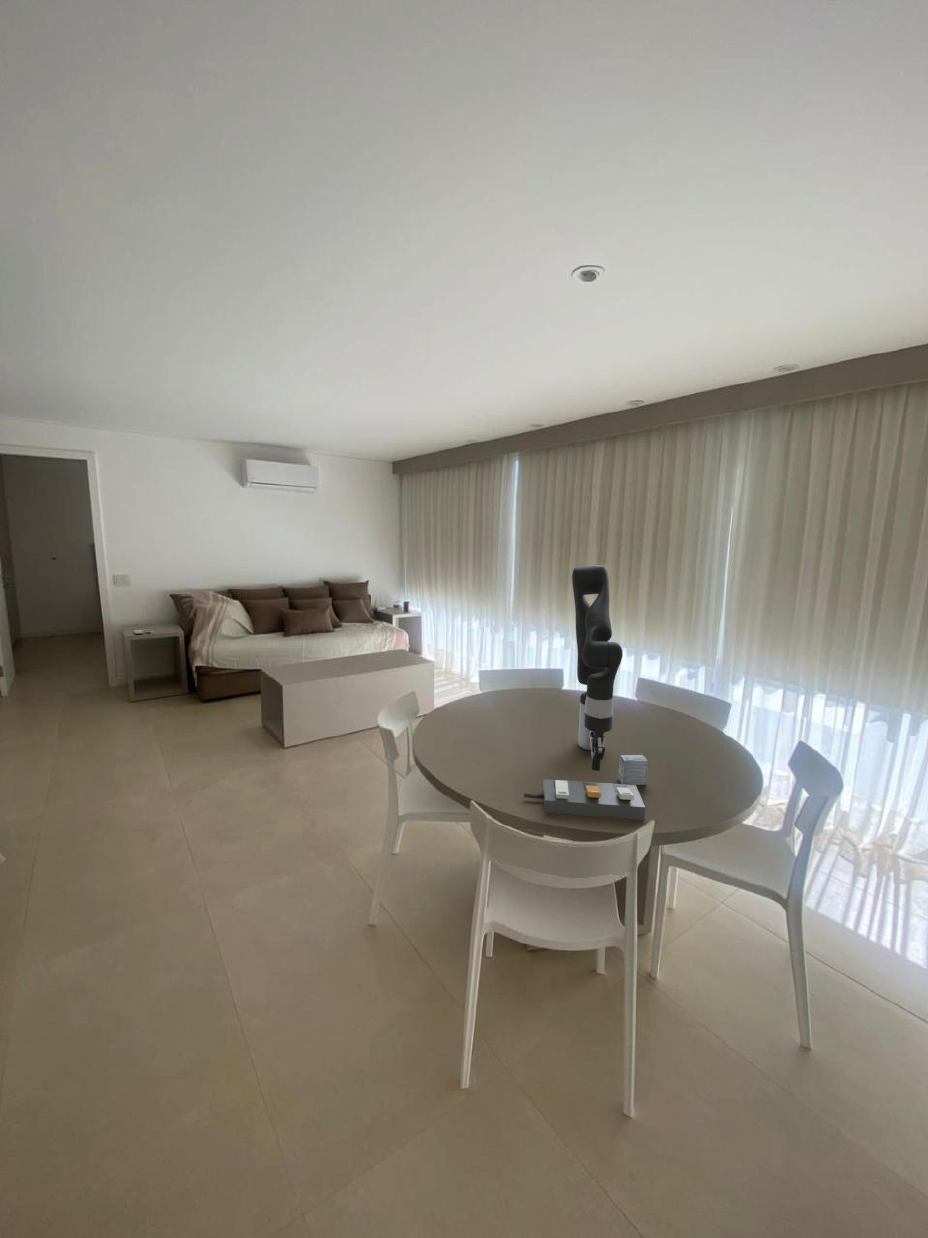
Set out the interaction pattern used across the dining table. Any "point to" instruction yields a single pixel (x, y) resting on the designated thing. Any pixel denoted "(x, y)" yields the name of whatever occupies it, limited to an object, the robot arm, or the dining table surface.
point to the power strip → (592, 801)
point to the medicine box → (633, 769)
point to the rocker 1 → (562, 789)
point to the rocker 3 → (625, 793)
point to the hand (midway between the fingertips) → (595, 769)
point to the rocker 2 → (593, 791)
